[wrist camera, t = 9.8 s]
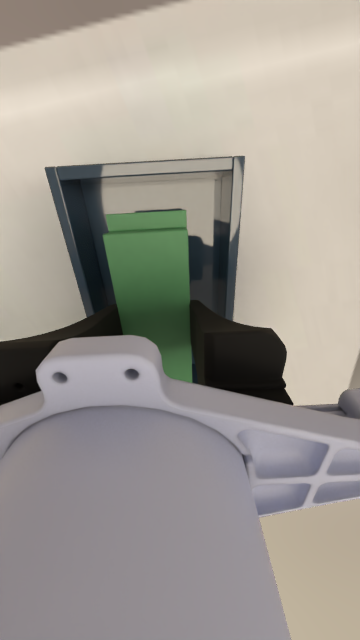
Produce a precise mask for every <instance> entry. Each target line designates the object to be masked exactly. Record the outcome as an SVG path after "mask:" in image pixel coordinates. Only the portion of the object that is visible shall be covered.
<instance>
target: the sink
mask: <svg viewBox="0 0 360 640" xmlns="http://www.w3.org/2000/svg"><path fill="white" fill-rule="evenodd" d="M244 164H245V156H234V157H232V156H230V157H213V158H195V159H178V160H160V161H143V162H125V163H108V164H90V165H73V166H57V167H45V171H46V175H47V178H48V182H49V186H50V189H51V193H52V196H53V200H54V203H55V207H56V210H57V214H58V217H59V221H60V224H61V228H62V231H63V235H64V238H65V242H66V245H67V249H68V252H69V256H70V259H71V263H72V266H73V270H74V273H75V277H76V280H77V284H78V288H79V291H80V295H81V298H82V302H83V305H84V309H85V312H86V316H87V317H89V316H91V315H93V314H95V313H97V312H99V311H100V310H102V309H104V308H106V307H108V306H110V305H113V304H116V299H115V294H114V289H113V284H112V279H111V274H110V269H109V265H108V260H107V255H106V250H105V245H104V240H103V234H106V233H108V232H109V230H108V225H107V220H106V214H122V213H140V212H158V211H176V210H186V217H187V227H186V228H187V230H188V251H189V285H190V300H199V301H200V302H201V303H203V304H204V305H205V306H206V307H207V308H209V309H210V310H212V311H213V312H215V313H216V314H218V315H220V316H222V317H224V318H226V319H228V320H231V321H233V310H234V296H235V283H236V270H237V256H238V243H239V230H240V217H241V203H242V190H243V177H244ZM191 354H192V383H194V384H198V379H197V371H196V366H195V361H194V357H193V352H192V348H191Z"/></svg>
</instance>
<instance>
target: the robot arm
mask: <svg viewBox="0 0 360 640" xmlns="http://www.w3.org/2000/svg"><path fill="white" fill-rule="evenodd" d="M189 308H190V341H191V348H192V352H193V357H194V361H195V366H196V371H197V379H198V384H194V383H190V382H185V381H181V380H176V379H172V378H169V377H168V376H166V375H165V373H164V371H163V367H162V358H161V354H160V352H159V350H158V347H157V345H156V344H154V343H153V342H151V341H150V340H149V339H147V338H146V337H140V336H134V335H123V331H122V326H121V321H120V316H119V312H118V307H117V304H113V305H110V306H108V307H106V308H104V309H102V310H100V311H99V312H97V313H95V314H93V315H91V316H89V317H87V318H85V319H83V320H81V321H79V322H77V323H75V324H72V325H70V326H67V327H65V328H62V329H58V330H55V331H52V332H49V333H45V334H41V335H37V336H32V337H28V338H22V339H16V340H10V341H3V342H0V640H291V638H290V633H289V630H288V626H287V622H286V618H285V614H284V611H283V607H282V603H281V600H280V596H279V592H278V588H277V584H276V581H275V577H274V573H273V570H272V565H271V562H270V558H269V554H268V550H267V547H266V543H265V539H264V536H263V531H262V528H261V524H260V520H259V518H260V517H265V516H270V515H275V514H280V513H285V512H290V511H296V510H301V509H306V508H311V507H316V506H321V505H326V504H331V503H337V502H342V501H348V500H354V499H360V388H353V389H347V390H345V391H344V392H343V393H342V394H341V395H340V398H339V401H338V404H325V405H304V406H293V402H292V400H291V399H290V397H289V395H288V394H287V392H286V390H285V389H284V388H285V387H286V383H285V381H284V380H283V378H282V375H283V371H284V366H285V362H286V355H287V351H286V348H285V345H284V344H283V342H282V341H281V340H280V338H279V337H278V336H277V334H276V333H275V332H274V331H273V330H272V329H271V328H261V327H253V326H248V325H244V324H240V323H236V322H233V321H231V320H228V319H226V318H224V317H222V316H220V315H218V314H216V313H215V312H213V311H212V310H210V309H209V308H207V307H206V306H205V305H204V304H203V303H201V302H200V301H199V300H190V304H189Z"/></svg>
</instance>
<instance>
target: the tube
mask: <svg viewBox="0 0 360 640" xmlns="http://www.w3.org/2000/svg"><path fill="white" fill-rule="evenodd" d="M106 220H107V225H108V230H109V232H108V233H106V234H103V240H104V245H105V250H106V255H107V260H108V265H109V269H110V274H111V279H112V284H113V289H114V294H115V299H116V304H117V307H118V312H119V316H120V321H121V326H122V331H123V335H134V336H140V337H146V338H147V339H149V340H150V341H151V342H153V343H154V344H156V345H157V347H158V350H159V352H160V354H161V358H162V367H163V371H164V373H165V375H166V376H168V377H169V378H172V379H176V380H181V381H185V382H190V383H192V354H191V341H190V308H189V304H190V285H189V251H188V230H187V228H186V227H187V217H186V210H176V211H158V212H140V213H122V214H106Z"/></svg>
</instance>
